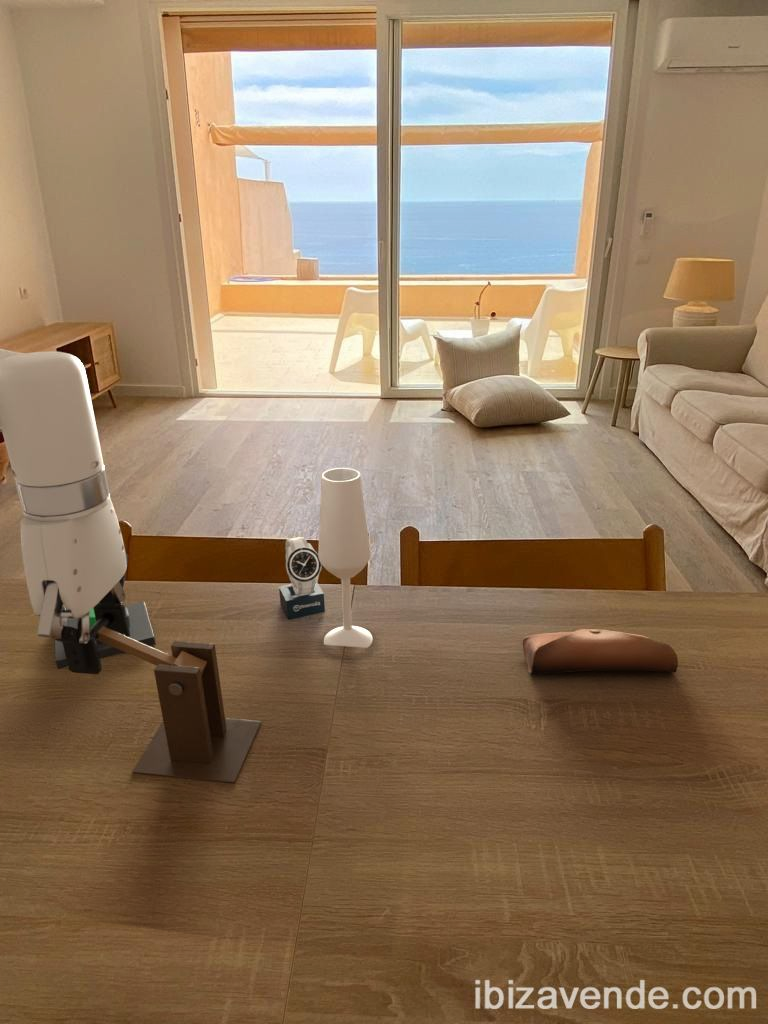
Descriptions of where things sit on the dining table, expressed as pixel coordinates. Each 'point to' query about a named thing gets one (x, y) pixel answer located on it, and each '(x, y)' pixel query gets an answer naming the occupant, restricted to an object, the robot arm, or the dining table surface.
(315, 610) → the watch
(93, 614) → the light button
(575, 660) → the sunglasses case
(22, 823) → the dining table surface
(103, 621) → the lever
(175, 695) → the switch bracket
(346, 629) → the champagne flute
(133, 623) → the button box
